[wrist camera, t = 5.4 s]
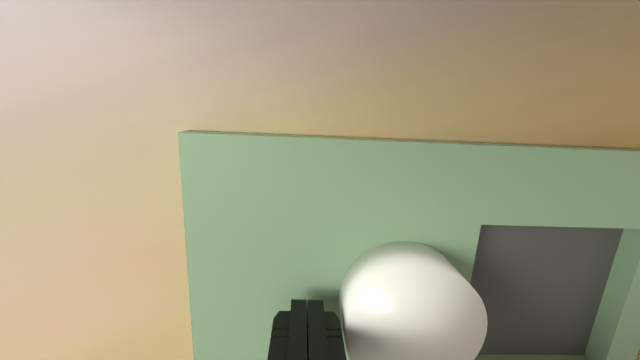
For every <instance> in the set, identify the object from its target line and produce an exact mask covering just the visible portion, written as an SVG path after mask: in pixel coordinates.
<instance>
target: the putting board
mask: <svg viewBox="0 0 640 360" xmlns="http://www.w3.org/2000/svg"><path fill="white" fill-rule="evenodd" d="M178 138H179V152H180V167H181V181H182V195H183V210H184V224H185V239H186V253H187V267H188V282H189V296H190V311H191V325H192V339H193V354H194V360H267V359H268V352H269V345H270V338H271V331H272V325H273V319H274V317H275V316H276V314H277V313H278V312H279V311H290V310H291V299H307V300H308V299H314V300H323V304H324V311H331V312H335V313H336V315H337V316H338V318H339V319H340V323H341V329H342V335H343V341H344V347H345V353H346V359H347V360H350V358H349V356H348V353H347V349H346V345H345V339H344V333H343V327H342V320H341V314H340V308H339V290H340V285H341V282H342V280H343V277H344V276H345V274H346V272H347V270H348V269H349V268H350V266H351V265H352V264H353V263H354V262H355V261H356V260H357V259H358V258H359V257H360V256H361V255H363V254H364V253H366V252H367V251H369V250H370V249H372V248H374V247H376V246H379V245H382V244H385V243H389V242H394V241H413V242H419V243H422V244H426V245H428V246H430V247H432V248H434V249H436V250H437V251H439V252H440V253H441V254H442V255H443V256H445V258H446V259H447V260H448V261H449V262H450V263H451V264H452V265H453V266H454V267H455V268H456V270H457V271H458V272H459V273H460V274H461V275H462V276H463V277H464V278H465V279H466V280H467V282H468V283H469V284H470V285H471V286H472V287H473V288H474V289H475V290H476V292H477V293H478V294H479V296H480V297H481V299H482V301H483V303H484V306H485V309H486V313H487V322H488V323H487V333H486V337H485V340H484V343H483V346H482V348H481V349H480V351H479V353H478V355H477V356H476V358H475V359H474V360H636V358H637V355H638V352H639V350H640V149H627V148H603V147H579V146H555V145H531V144H507V143H483V142H459V141H435V140H412V139H388V138H364V137H340V136H316V135H292V134H268V133H244V132H220V131H196V130H188V131H183V132H178Z"/></svg>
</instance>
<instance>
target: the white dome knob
mask: <svg viewBox="0 0 640 360" xmlns="http://www.w3.org/2000/svg"><path fill="white" fill-rule="evenodd" d="M339 308H340V314H341V320H342V327H343V333H344V339H345V345H346V349H347V353H348V356H349V358H350V360H474V359H475V358H476V356H477V355H478V353H479V351H480V349H481V348H482V346H483V343H484V340H485V337H486V333H487V323H488V322H487V313H486V309H485V306H484V303H483V301H482V299H481V297H480V296H479V294H478V293H477V292H476V290H475V289H474V288H473V287H472V286H471V285H470V284H469V283H468V282H467V280H466V279H465V278H464V277H463V276H462V275H461V274H460V273H459V272H458V271H457V270H456V268H455V267H454V266H453V265H452V264H451V263H450V262H449V261H448V260H447V259H446V258H445V256H443V255H442V254H441V253H440V252H439V251H437V250H436V249H434V248H432V247H430V246H428V245H426V244H422V243H419V242H413V241H394V242H389V243H385V244H382V245H379V246H376V247H374V248H372V249H370V250H369V251H367V252H366V253H364V254H363V255H361V256H360V257H359V258H358V259H357V260H356V261H355V262H354V263H353V264H352V265H351V266H350V268H349V269H348V270H347V272H346V274H345V276H344V277H343V280H342V282H341V285H340V290H339Z"/></svg>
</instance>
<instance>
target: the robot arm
mask: <svg viewBox="0 0 640 360" xmlns="http://www.w3.org/2000/svg"><path fill="white" fill-rule="evenodd" d="M267 360H347V359H346V353H345V347H344V341H343V335H342V329H341V323H340V319H339V318H338V316H337V315H336V313H335V312H331V311H324V304H323V300H314V299H308V300H307V299H291V310H290V311H279V312H278V313H277V314H276V316H275V317H274V319H273V325H272V331H271V338H270V345H269V352H268V359H267Z"/></svg>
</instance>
